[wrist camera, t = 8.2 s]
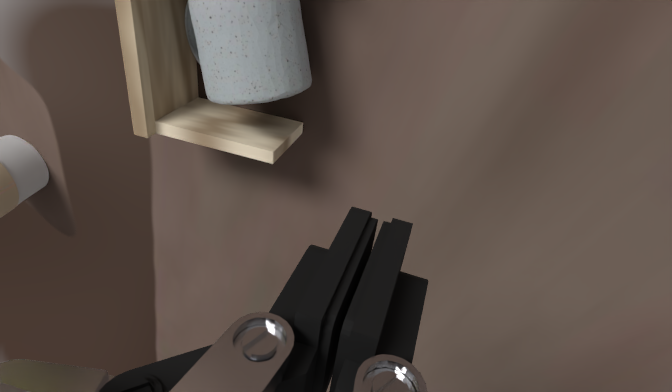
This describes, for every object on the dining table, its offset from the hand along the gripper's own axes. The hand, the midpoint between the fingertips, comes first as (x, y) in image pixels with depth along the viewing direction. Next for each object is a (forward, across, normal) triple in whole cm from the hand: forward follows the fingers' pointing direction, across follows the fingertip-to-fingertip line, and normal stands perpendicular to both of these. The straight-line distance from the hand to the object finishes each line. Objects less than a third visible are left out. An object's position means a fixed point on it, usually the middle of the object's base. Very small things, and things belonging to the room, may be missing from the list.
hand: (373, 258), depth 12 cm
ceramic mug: (+23, +15, +1) cm, 27 cm away
